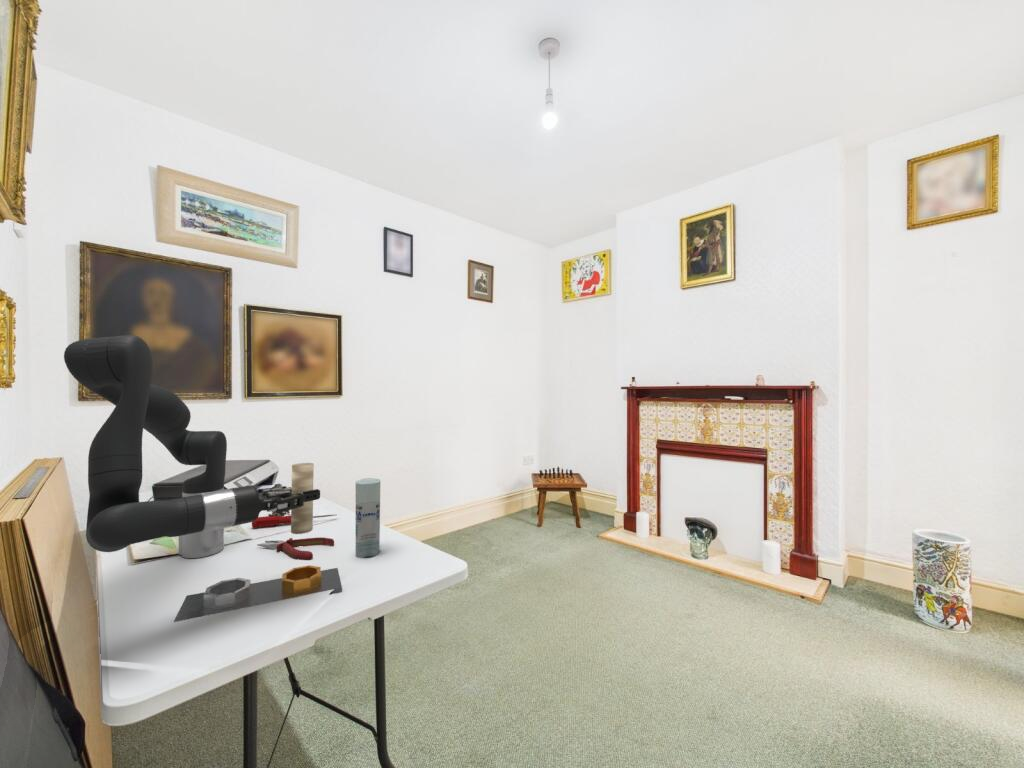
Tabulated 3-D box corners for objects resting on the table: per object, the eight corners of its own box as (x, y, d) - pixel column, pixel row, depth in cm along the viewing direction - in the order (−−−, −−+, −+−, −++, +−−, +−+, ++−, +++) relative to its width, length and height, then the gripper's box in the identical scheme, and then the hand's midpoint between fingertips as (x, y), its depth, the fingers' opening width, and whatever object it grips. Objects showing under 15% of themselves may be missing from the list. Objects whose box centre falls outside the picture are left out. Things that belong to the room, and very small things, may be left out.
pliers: (276, 540, 124) (276, 531, 124) (336, 546, 120) (336, 537, 120) (244, 555, 113) (244, 546, 113) (309, 563, 109) (309, 553, 109)
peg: (286, 533, 92) (287, 466, 92) (298, 526, 97) (299, 462, 97) (305, 534, 92) (306, 466, 92) (316, 527, 96) (317, 463, 96)
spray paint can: (354, 550, 116) (354, 479, 116) (378, 547, 119) (378, 477, 119) (355, 560, 110) (356, 484, 110) (381, 555, 113) (382, 482, 113)
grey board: (173, 627, 79) (173, 608, 79) (186, 600, 89) (186, 584, 89) (341, 591, 93) (342, 576, 93) (337, 571, 103) (337, 557, 103)
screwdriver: (336, 521, 140) (336, 511, 140) (251, 530, 132) (251, 519, 132) (337, 518, 144) (337, 508, 144) (253, 526, 135) (253, 515, 135)
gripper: (239, 495, 79) (329, 480, 92) (218, 483, 88) (302, 471, 101) (239, 535, 79) (328, 514, 92) (218, 518, 88) (301, 501, 101)
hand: (314, 491), depth 96 cm, fingers closed on peg, 4 cm apart
